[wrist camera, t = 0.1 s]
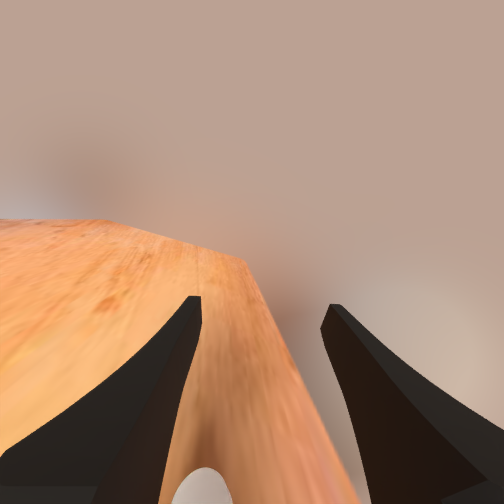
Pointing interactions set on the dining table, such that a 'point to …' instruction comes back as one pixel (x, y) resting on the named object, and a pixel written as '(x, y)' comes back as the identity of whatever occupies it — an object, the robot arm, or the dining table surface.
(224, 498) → the supplement bottle
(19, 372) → the dining table surface
